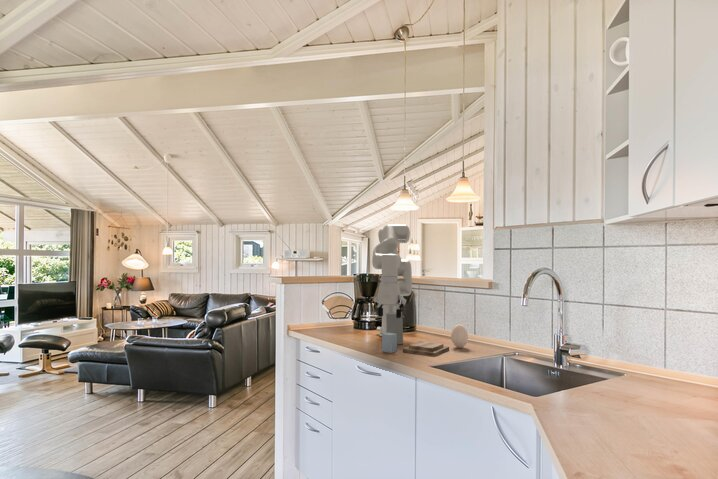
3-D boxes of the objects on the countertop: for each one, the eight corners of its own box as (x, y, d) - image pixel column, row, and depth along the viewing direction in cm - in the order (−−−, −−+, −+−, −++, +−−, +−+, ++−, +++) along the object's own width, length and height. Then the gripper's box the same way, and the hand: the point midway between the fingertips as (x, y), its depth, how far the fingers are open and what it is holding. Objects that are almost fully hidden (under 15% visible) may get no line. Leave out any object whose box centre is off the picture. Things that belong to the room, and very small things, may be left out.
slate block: (382, 351, 205) (382, 334, 205) (387, 349, 209) (387, 332, 210) (391, 352, 202) (391, 335, 203) (396, 350, 206) (396, 333, 207)
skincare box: (403, 342, 227) (403, 311, 227) (403, 345, 220) (403, 313, 220) (386, 341, 228) (386, 311, 228) (386, 344, 221) (386, 312, 221)
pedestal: (402, 351, 204) (402, 345, 204) (418, 346, 217) (418, 340, 217) (434, 356, 195) (434, 349, 195) (449, 350, 208) (449, 343, 208)
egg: (449, 348, 212) (449, 324, 212) (453, 345, 219) (453, 322, 219) (465, 350, 208) (465, 325, 209) (469, 347, 215) (469, 323, 216)
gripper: (369, 280, 209) (369, 316, 208) (401, 281, 199) (401, 319, 198) (378, 279, 215) (378, 315, 214) (409, 280, 205) (409, 317, 204)
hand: (389, 317), depth 206 cm, fingers open, 9 cm apart
